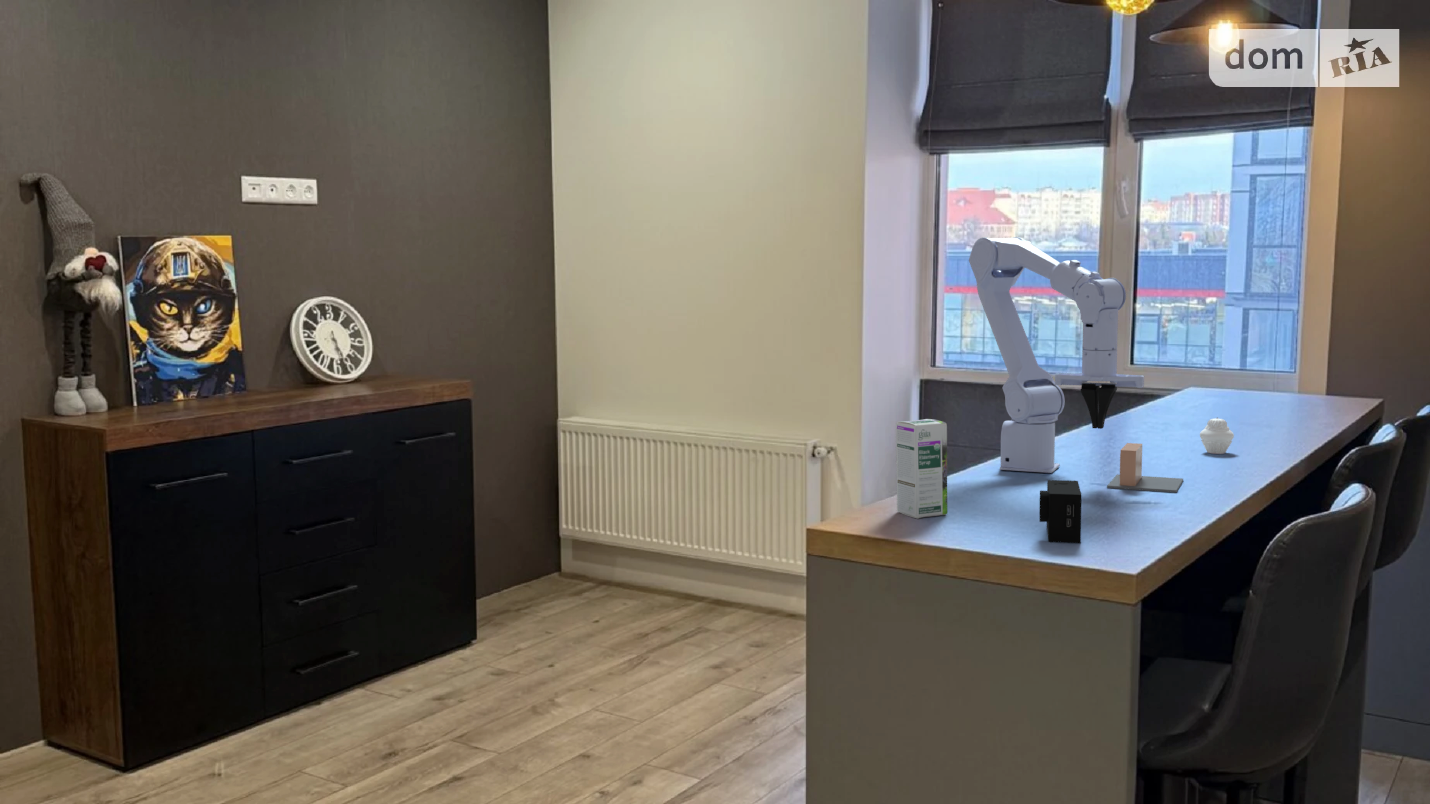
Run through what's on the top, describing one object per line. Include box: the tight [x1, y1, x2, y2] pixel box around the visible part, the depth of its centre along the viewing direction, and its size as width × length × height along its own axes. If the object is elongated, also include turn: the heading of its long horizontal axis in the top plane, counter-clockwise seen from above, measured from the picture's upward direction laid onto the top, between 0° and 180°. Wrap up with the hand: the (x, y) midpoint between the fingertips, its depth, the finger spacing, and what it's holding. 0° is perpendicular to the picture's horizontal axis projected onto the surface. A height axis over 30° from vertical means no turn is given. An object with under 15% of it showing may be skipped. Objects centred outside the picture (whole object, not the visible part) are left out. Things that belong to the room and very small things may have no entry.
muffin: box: [1199, 417, 1235, 455], centre depth 232 cm, size 6×6×7 cm
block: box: [1119, 442, 1143, 486], centre depth 203 cm, size 3×8×6 cm, turn 153°
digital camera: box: [1039, 479, 1082, 544], centre depth 169 cm, size 10×5×7 cm, turn 166°
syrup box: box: [895, 418, 948, 519], centre depth 183 cm, size 6×6×14 cm
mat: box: [1106, 473, 1184, 494], centre depth 203 cm, size 11×11×1 cm
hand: (1098, 427), depth 205 cm, fingers closed
